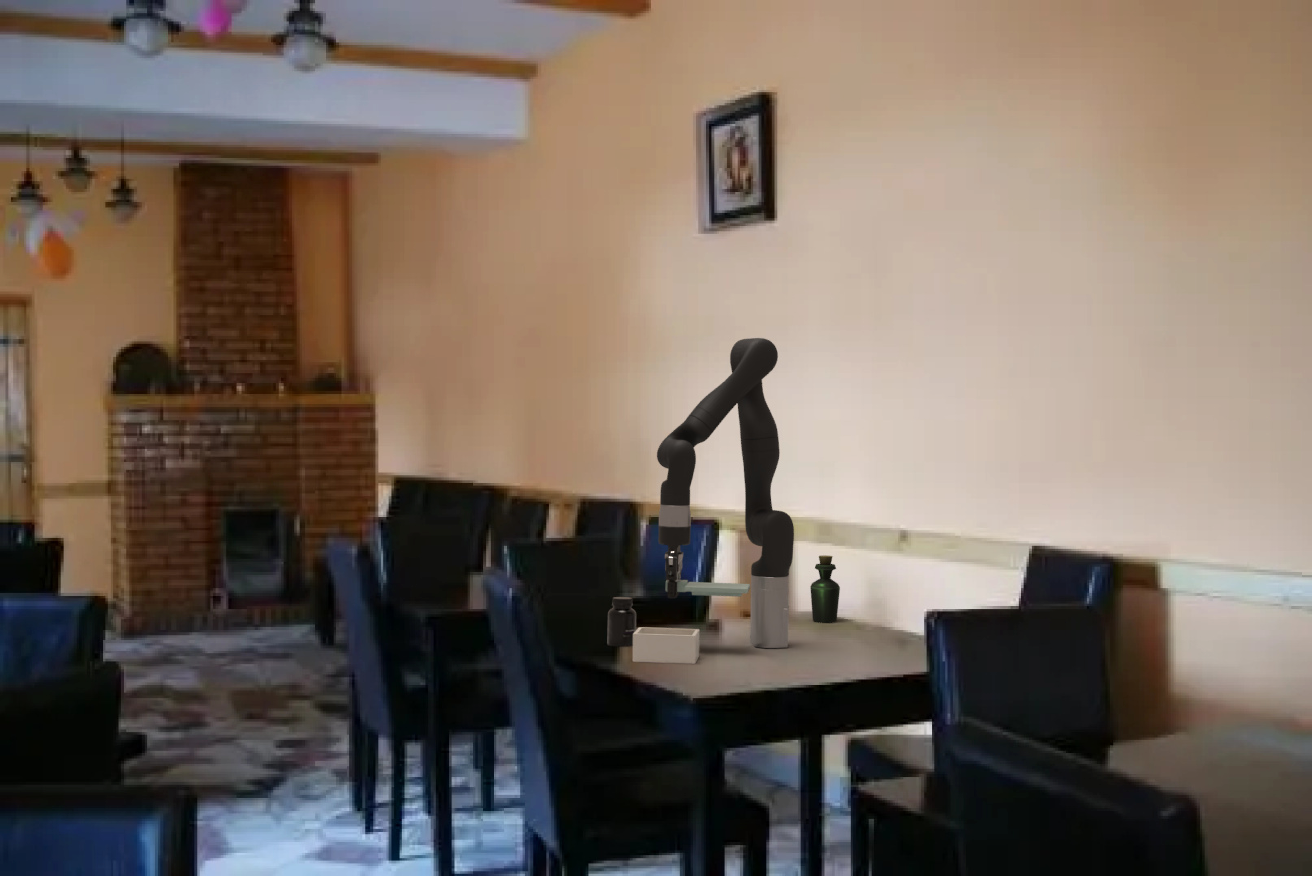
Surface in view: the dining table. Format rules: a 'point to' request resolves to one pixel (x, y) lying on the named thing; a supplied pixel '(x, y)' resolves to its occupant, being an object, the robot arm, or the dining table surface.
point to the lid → (712, 588)
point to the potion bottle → (825, 593)
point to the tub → (666, 645)
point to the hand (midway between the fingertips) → (673, 596)
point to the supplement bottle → (621, 622)
